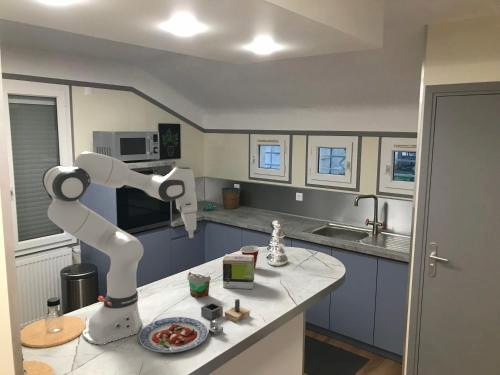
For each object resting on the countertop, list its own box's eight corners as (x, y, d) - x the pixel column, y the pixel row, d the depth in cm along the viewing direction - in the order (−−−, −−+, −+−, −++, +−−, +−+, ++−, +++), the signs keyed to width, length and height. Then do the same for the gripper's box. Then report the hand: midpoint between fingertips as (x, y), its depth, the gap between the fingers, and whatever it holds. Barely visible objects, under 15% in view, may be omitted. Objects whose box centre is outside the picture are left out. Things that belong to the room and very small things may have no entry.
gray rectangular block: (216, 329, 162) (216, 325, 162) (210, 330, 162) (210, 326, 161) (216, 324, 166) (216, 320, 166) (210, 324, 165) (210, 321, 165)
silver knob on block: (213, 337, 156) (213, 324, 155) (208, 334, 158) (208, 322, 157) (223, 332, 159) (223, 320, 159) (217, 329, 161) (217, 317, 160)
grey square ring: (211, 320, 168) (211, 311, 167) (201, 315, 172) (201, 307, 172) (222, 315, 173) (222, 306, 172) (212, 310, 177) (212, 302, 176)
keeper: (236, 322, 167) (236, 305, 166) (224, 317, 171) (224, 300, 170) (249, 316, 173) (249, 299, 171) (237, 310, 177) (237, 294, 176)
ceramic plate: (177, 315, 173) (177, 309, 172) (221, 336, 157) (221, 329, 156) (125, 340, 153) (124, 332, 153) (169, 366, 137) (169, 358, 137)
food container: (182, 295, 192) (181, 275, 191) (189, 290, 198) (189, 271, 196) (203, 300, 187) (203, 280, 185) (211, 296, 192) (211, 275, 190)
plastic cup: (237, 266, 232) (237, 246, 230) (255, 264, 235) (255, 244, 233) (243, 273, 222) (243, 251, 220) (261, 271, 225) (262, 250, 223)
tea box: (254, 281, 210) (254, 254, 207) (252, 289, 200) (252, 261, 197) (225, 280, 211) (225, 253, 209) (222, 288, 201) (222, 259, 199)
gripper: (176, 198, 182) (179, 227, 185) (182, 210, 163) (185, 242, 166) (190, 196, 184) (193, 225, 187) (197, 208, 165) (200, 240, 168)
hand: (189, 233), depth 176 cm, fingers open, 8 cm apart
